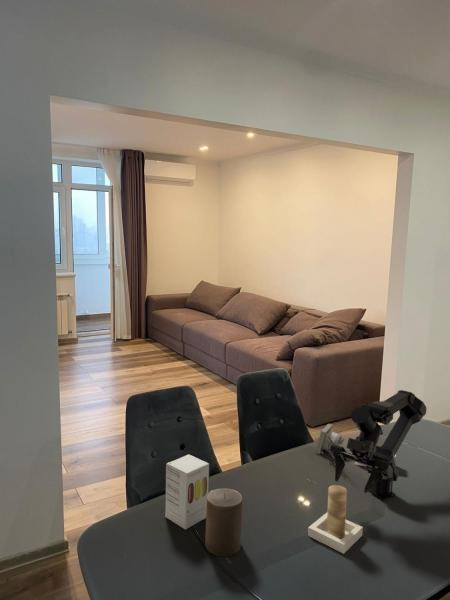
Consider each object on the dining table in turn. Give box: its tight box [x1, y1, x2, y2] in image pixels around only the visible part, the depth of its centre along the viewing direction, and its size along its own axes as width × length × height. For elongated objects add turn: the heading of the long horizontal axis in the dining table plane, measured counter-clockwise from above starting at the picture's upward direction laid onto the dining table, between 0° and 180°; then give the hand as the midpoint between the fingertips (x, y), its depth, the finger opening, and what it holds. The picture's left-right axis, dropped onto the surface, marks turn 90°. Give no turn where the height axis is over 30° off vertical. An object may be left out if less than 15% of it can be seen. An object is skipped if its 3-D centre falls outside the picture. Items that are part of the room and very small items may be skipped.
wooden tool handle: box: [326, 484, 348, 539], centre depth 126 cm, size 5×5×13 cm
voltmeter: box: [315, 423, 345, 469], centre depth 174 cm, size 27×11×10 cm, turn 5°
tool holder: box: [307, 512, 364, 555], centre depth 126 cm, size 11×11×2 cm
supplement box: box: [164, 454, 210, 530], centre depth 133 cm, size 10×9×17 cm
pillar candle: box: [204, 488, 243, 558], centre depth 121 cm, size 10×10×15 cm
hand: (350, 486), depth 133 cm, fingers open, 9 cm apart
